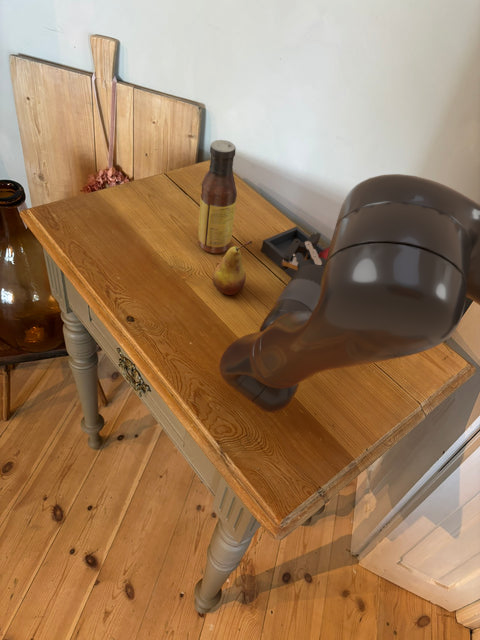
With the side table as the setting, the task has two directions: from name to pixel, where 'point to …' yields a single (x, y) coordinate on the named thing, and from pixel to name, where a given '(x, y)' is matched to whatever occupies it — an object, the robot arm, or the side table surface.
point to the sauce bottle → (218, 199)
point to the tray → (285, 246)
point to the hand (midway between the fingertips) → (339, 246)
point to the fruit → (230, 272)
